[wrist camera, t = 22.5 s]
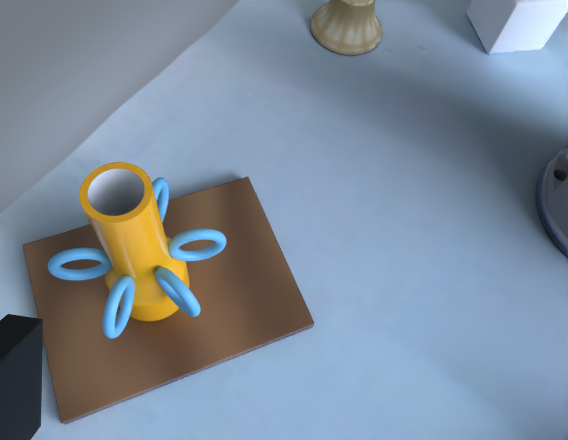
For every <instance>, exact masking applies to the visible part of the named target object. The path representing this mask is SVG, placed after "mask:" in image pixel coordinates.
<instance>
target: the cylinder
mask: <svg viewBox="0 0 568 440" xmlns="http://www.w3.org/2000/svg"><path fill="white" fill-rule="evenodd" d="M158 196H159V197H158ZM79 197H80V203H81V205H82V208H83V209H84V211H85V213H86V215H87V217H88V219H89V221H90V223H91V225H92V227H93V229H94V231H95V233H96V235H97V237H98V239H99V240H100V242H101V244H102V246H103V248H104V250H105V251H103V250H100V249H96V248H75V249H69V250H65V251H62V252H60V253H58V254H56V255H55V256H53V257H52V258H51V259H50V260H49V262H48V270H49V272H50V273H51V274H52V275H53V276H55V277H57V278H60V279H65V280H88V279H93V278H96V277H99V276H102V275H104V276H105V281H106V284H107V287H108V289H109V290H110V293H109V296H108V298H107V301H106V305H105V309H104V313H103V322H102V326H103V332H104V334H105V336H106V337H108V338H111V339H113V338H116V337H118V336H119V335H120V334H121V332H122V331H123V329H124V328H125V326H126V324H127V321H128V319H129V316H130V317H132V318H134V319H137V320H140V321H157V320H161V319H164V318H166V317H168V316H170V315H172V314H173V313H175V312H176V311H177V310H178V309H179V308H180V309H181V310H182V311H183V312H185V313H186V314H187V315H189V316H191V317H196V316H198V315H199V314H200V311H201V309H200V305H199V303H198V301H197V299H196V298H195V296H194V295H193V293H192V292H191V291H190V290H189V275H188V270H187V265H186V261H198V260H203V259H207V258H210V257H212V256H215V255H217V254H218V253H220V252H221V251H222V250H223V249H224V247H225V246H226V238H225V236H224V235H223V234H222V233H221V232H219V231H217V230H214V229H207V228H201V229H193V230H188V231H185V232H182V233H180V234H178V235H176V236H175V237H173V238H172V239H171V238H169V237H167V236H165V232H164V228H163V224H162V222H163V220H164V217H165V214H166V210H167V205H168V199H169V186H168V182H167V181H166V180H165V179H164V178H157V179H156V180H155V181H154V182H153V183H152V182H151V180H150V178H149V176H148V175H147V173H146V172H145V171H144V170H142V169H141V168H139V167H138V166H136V165H133V164H130V163H124V162H115V163H109V164H106V165H103V166H101V167H99V168H97V169H95V170H94V171H92V172H91V173H90V174H89V175H88V176H87V177H86V178H85V180H84V181H83V183H82V185H81V188H80V194H79ZM157 198H158V204H157ZM204 239H205V240H213V241H215V243H214V244H213V245H211V246H210V247H207V248H205V249H201V250H196V251H184V250H181V248H180V246H181V245H183V244H185V243H187V242H190V241H195V240H204ZM80 259H91V260H97V261H100V262H102V263H101V264H100V265H98V266H96V267H93V268H89V269H81V270H72V269H66V268H63V267H61V265H62V264H64V263H66V262H69V261H73V260H80ZM118 305H119V307H120V311H119V314H118V316H117V318H116V312H117V308H118ZM115 318H116V320H115Z"/></svg>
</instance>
